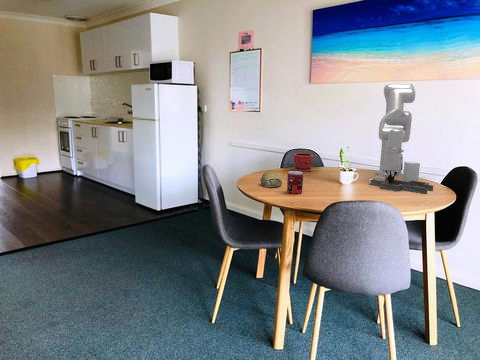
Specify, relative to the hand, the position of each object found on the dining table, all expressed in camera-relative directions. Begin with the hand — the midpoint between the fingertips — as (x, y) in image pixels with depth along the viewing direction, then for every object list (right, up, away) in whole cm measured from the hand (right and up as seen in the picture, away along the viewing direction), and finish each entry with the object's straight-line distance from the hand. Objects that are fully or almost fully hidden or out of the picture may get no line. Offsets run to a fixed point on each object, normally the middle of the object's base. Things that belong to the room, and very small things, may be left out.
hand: (390, 182), depth 216 cm
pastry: (-70, -2, -3) cm, 70 cm away
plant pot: (-43, +7, +45) cm, 63 cm away
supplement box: (+16, 0, +11) cm, 20 cm away
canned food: (-59, -5, -20) cm, 62 cm away
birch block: (-4, -1, +4) cm, 6 cm away
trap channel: (+4, -3, -3) cm, 6 cm away
